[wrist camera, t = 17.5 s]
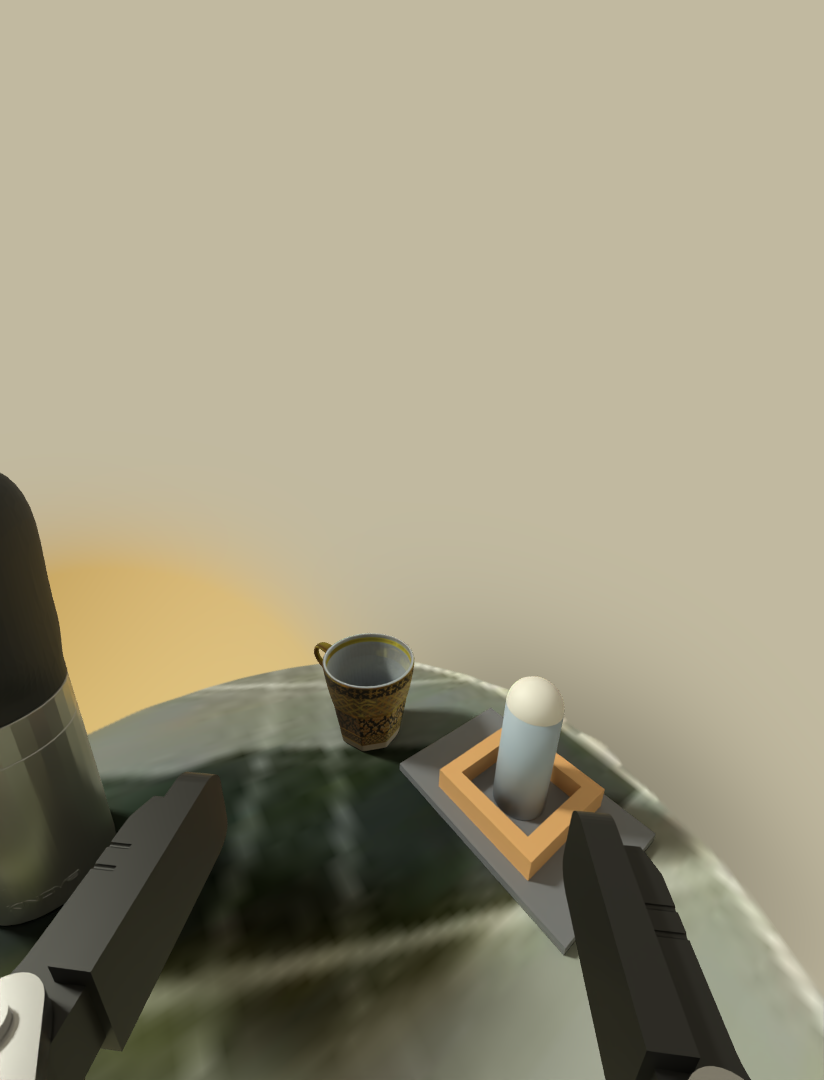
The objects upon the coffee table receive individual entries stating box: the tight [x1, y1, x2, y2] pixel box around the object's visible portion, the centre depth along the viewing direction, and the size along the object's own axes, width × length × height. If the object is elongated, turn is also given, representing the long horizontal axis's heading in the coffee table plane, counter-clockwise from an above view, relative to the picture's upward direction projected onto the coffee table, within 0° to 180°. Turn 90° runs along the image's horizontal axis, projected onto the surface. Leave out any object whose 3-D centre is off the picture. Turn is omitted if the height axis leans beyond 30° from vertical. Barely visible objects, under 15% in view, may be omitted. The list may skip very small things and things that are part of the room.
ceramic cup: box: [314, 633, 414, 751], centre depth 51 cm, size 13×10×10 cm
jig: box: [400, 708, 655, 955], centre depth 43 cm, size 20×14×3 cm
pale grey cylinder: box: [493, 676, 564, 821], centre depth 41 cm, size 5×5×14 cm
